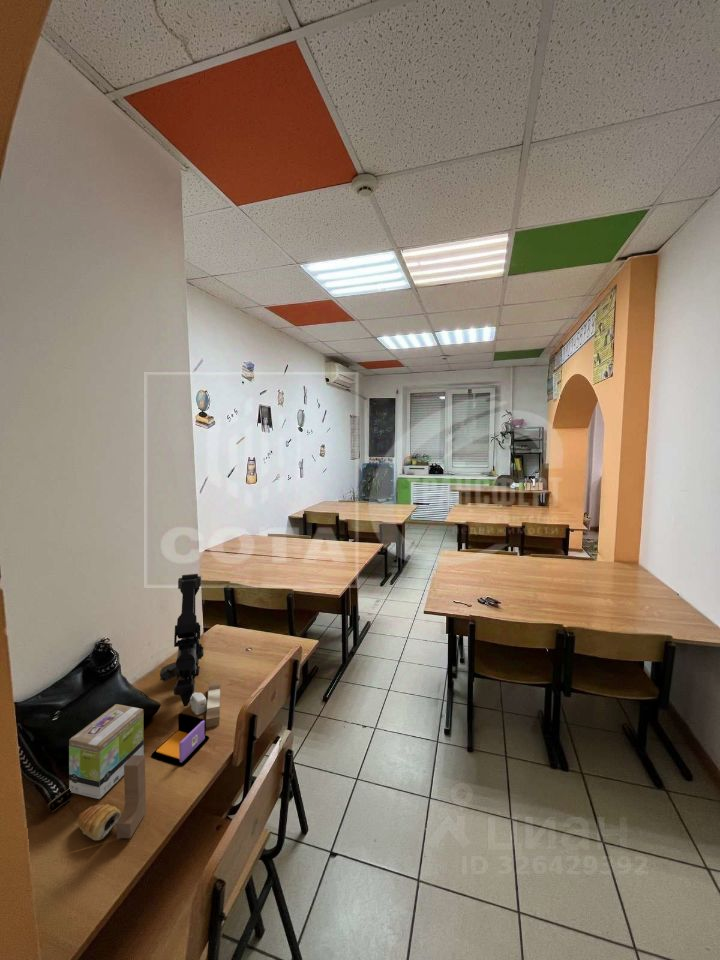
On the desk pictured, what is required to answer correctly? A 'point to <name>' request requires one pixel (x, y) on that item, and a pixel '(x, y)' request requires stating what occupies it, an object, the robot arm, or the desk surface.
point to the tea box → (105, 750)
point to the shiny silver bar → (213, 705)
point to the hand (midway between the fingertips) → (187, 698)
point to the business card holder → (183, 741)
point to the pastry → (98, 820)
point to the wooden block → (133, 796)
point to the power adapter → (198, 703)
